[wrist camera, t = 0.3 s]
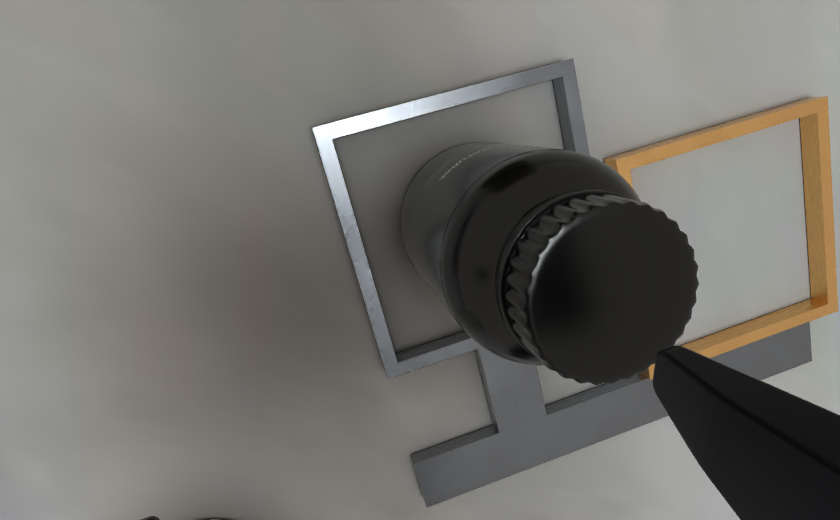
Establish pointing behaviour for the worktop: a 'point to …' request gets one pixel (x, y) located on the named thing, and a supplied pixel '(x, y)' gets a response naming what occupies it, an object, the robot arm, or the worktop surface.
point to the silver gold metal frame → (519, 383)
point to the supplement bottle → (550, 259)
